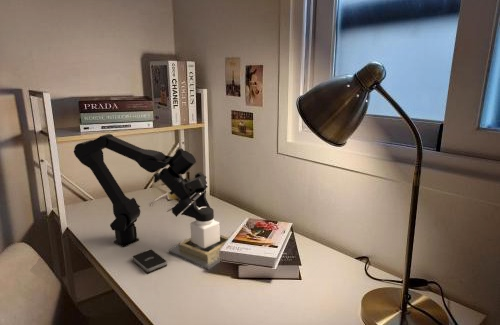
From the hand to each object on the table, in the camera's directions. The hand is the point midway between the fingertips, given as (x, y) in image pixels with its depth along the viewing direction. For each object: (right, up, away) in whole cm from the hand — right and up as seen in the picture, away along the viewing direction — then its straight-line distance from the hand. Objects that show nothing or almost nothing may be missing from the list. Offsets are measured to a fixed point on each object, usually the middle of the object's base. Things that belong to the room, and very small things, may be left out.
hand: (208, 216), depth 117 cm
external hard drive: (-18, -15, -5) cm, 24 cm away
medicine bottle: (-1, -9, +3) cm, 10 cm away
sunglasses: (-23, -2, +45) cm, 51 cm away
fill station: (-1, -12, +3) cm, 12 cm away
